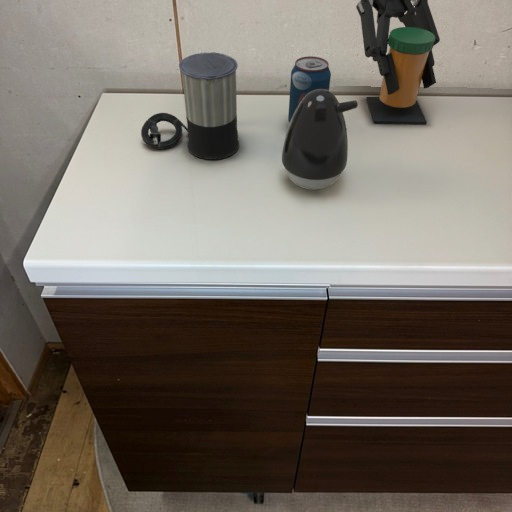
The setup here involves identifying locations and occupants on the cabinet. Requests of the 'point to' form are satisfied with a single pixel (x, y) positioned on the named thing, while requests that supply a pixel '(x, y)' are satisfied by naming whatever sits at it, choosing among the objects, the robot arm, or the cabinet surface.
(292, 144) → the pump dispenser
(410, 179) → the cabinet surface
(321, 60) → the soda can
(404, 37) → the jar lid
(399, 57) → the jar
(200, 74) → the milk frother
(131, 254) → the cabinet surface
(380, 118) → the mat
